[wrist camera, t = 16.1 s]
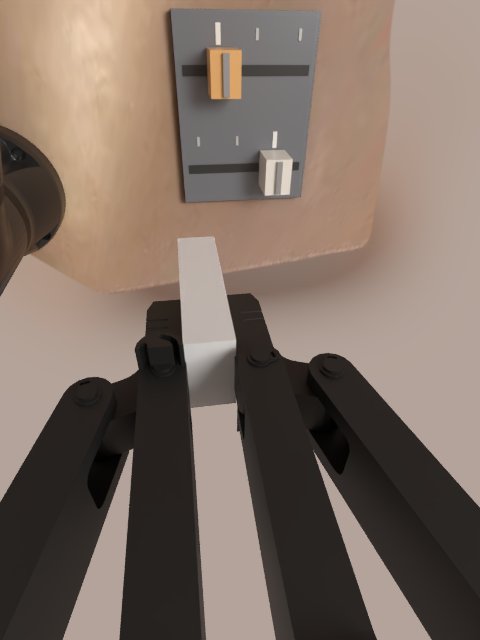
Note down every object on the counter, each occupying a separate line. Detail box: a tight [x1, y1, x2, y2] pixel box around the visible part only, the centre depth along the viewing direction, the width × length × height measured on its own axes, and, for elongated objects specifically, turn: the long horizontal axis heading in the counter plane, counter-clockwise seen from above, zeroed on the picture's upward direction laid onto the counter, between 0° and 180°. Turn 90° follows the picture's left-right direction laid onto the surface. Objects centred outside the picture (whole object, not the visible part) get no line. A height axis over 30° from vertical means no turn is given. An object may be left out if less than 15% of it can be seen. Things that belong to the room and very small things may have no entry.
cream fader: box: [258, 150, 293, 196], centre depth 45 cm, size 3×4×4 cm
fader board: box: [171, 9, 322, 202], centre depth 44 cm, size 15×19×1 cm
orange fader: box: [206, 47, 242, 99], centre depth 38 cm, size 3×4×4 cm
